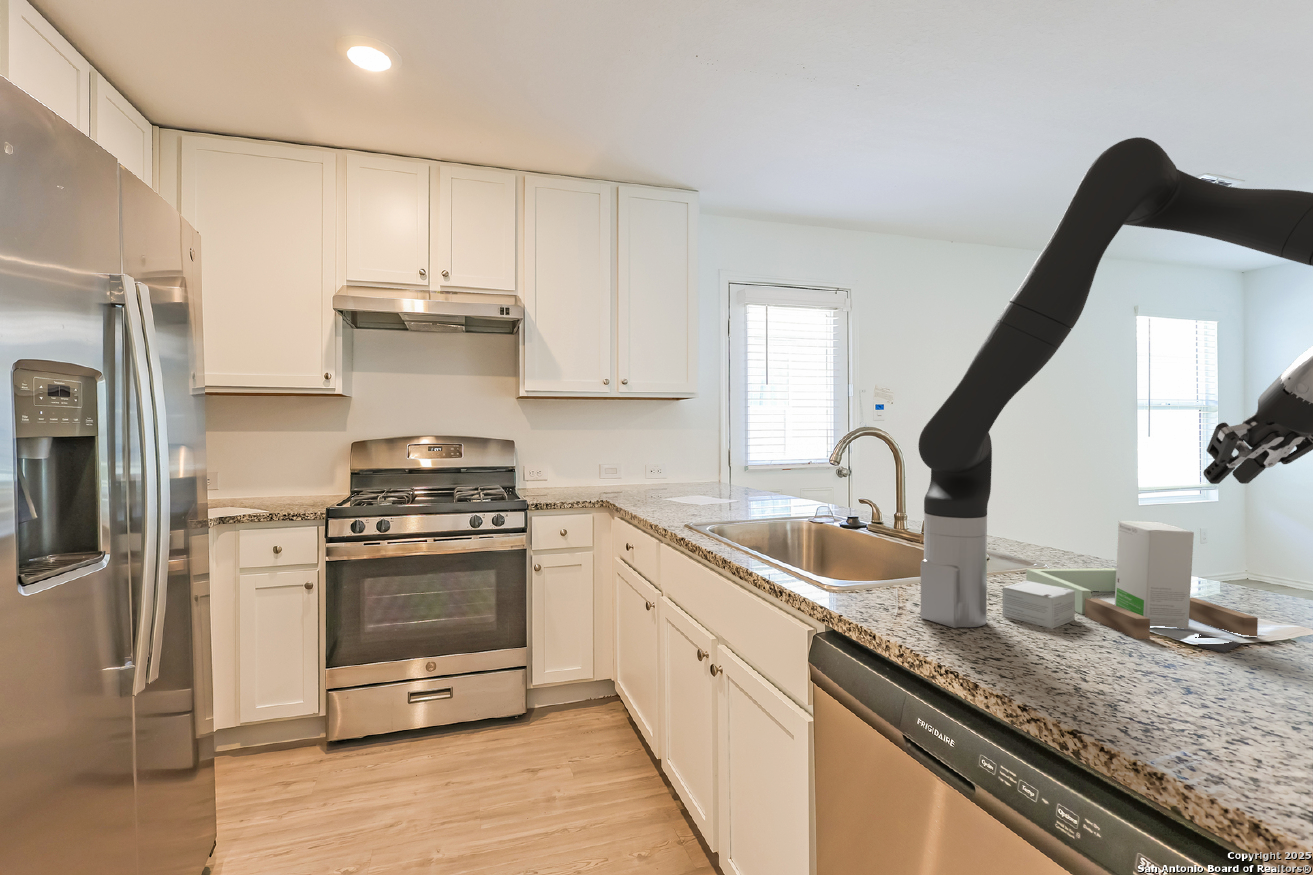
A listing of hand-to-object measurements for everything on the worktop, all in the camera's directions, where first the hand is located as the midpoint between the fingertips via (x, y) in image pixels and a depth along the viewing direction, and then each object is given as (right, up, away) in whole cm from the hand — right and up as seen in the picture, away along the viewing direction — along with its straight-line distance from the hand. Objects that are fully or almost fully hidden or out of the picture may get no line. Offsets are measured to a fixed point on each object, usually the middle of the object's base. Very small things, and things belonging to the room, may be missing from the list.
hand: (1224, 478), depth 85 cm
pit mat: (0, -24, +2) cm, 24 cm away
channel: (0, -24, +10) cm, 26 cm away
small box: (-17, -24, +14) cm, 33 cm away
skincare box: (0, -24, +12) cm, 27 cm away
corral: (0, -24, +23) cm, 33 cm away
